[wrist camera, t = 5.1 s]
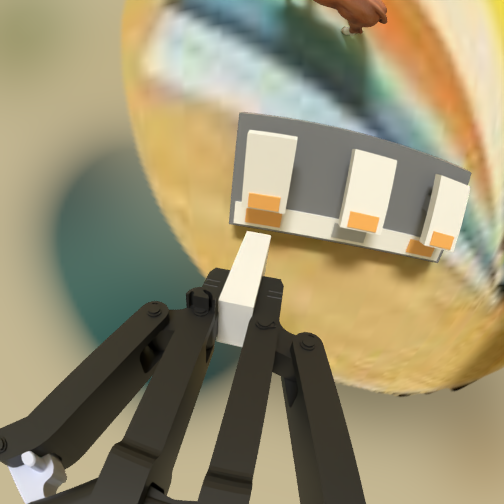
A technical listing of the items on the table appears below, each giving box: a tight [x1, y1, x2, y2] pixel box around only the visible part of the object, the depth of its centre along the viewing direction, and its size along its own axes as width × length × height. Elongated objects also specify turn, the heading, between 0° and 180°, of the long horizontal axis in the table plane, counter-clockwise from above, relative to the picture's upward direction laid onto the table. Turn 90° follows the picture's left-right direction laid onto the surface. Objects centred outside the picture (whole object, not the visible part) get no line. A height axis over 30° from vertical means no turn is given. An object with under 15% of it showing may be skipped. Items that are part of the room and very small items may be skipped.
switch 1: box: [241, 130, 298, 214], centre depth 23 cm, size 4×7×1 cm, turn 173°
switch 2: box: [420, 174, 470, 252], centre depth 22 cm, size 4×7×1 cm, turn 173°
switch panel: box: [229, 112, 471, 263], centre depth 25 cm, size 25×12×4 cm, turn 83°
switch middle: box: [338, 149, 397, 235], centre depth 23 cm, size 4×7×1 cm, turn 173°
